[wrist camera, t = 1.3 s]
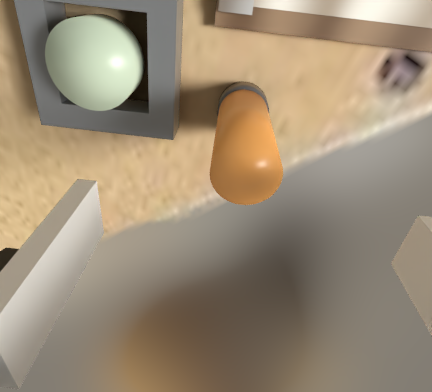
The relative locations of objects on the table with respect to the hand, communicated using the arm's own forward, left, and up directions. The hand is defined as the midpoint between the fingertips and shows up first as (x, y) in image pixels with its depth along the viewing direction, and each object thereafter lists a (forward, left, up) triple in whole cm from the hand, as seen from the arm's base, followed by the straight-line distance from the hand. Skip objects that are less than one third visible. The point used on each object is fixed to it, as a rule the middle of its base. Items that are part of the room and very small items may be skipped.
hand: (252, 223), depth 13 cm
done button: (-11, +3, -15) cm, 19 cm away
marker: (0, 0, -17) cm, 17 cm away
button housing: (-11, +3, -17) cm, 20 cm away
